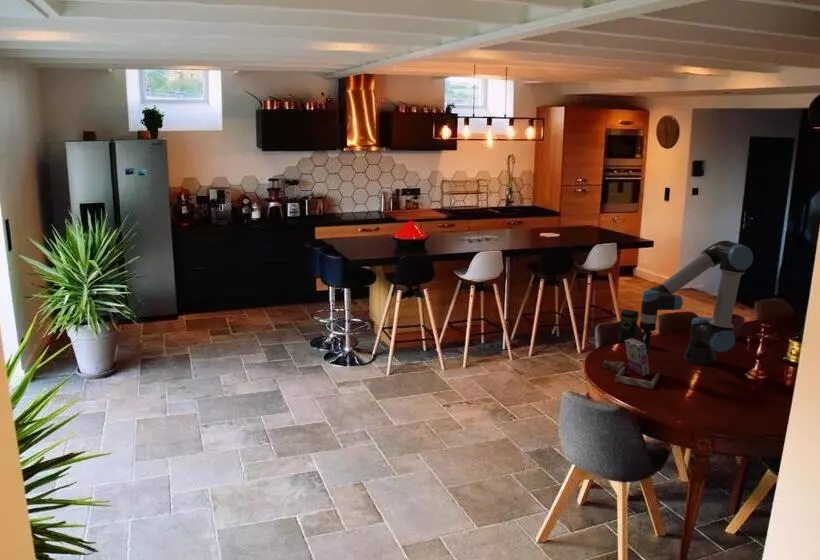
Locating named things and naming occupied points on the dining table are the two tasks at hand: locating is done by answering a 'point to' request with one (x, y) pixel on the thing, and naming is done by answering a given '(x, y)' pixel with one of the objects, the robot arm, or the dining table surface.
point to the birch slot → (635, 380)
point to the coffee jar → (628, 325)
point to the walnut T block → (613, 365)
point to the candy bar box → (637, 356)
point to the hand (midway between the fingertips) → (643, 366)
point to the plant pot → (737, 323)
